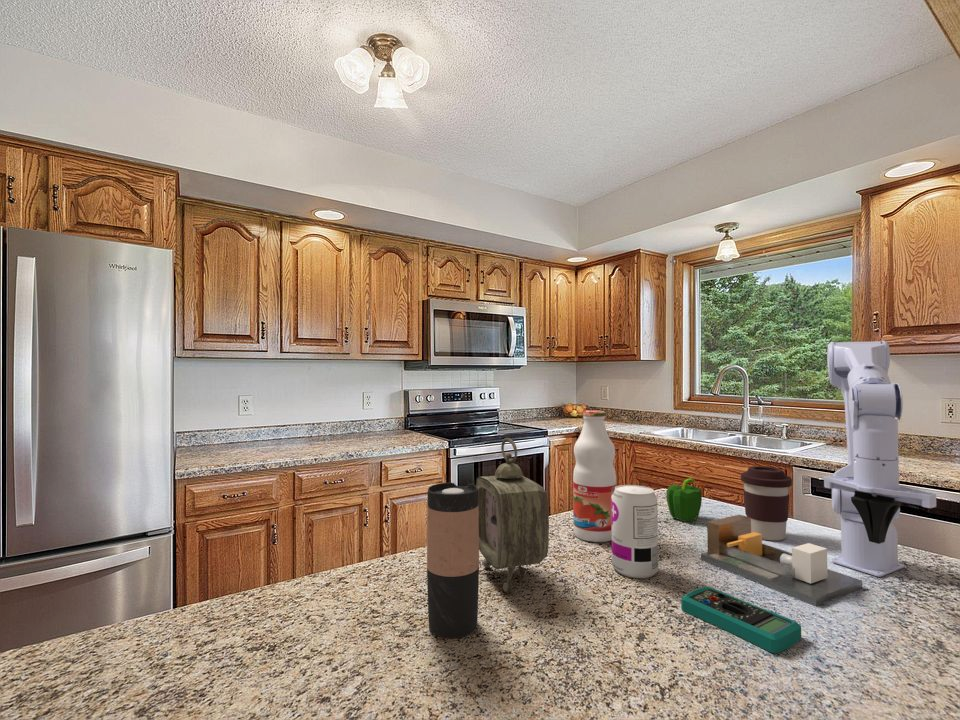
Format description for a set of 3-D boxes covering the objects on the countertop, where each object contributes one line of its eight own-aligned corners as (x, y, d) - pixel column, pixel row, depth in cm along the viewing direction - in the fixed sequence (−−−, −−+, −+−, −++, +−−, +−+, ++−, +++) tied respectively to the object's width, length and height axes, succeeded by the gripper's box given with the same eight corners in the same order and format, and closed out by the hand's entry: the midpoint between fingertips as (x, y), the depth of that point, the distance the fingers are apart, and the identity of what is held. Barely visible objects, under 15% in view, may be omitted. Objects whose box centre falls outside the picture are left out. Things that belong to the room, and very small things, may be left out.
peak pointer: (762, 555, 94) (762, 534, 94) (732, 563, 90) (731, 542, 90) (754, 552, 96) (754, 532, 96) (724, 561, 91) (724, 539, 91)
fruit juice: (625, 537, 108) (624, 411, 109) (597, 546, 103) (597, 413, 103) (592, 526, 116) (591, 408, 116) (564, 534, 110) (564, 410, 111)
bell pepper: (670, 523, 118) (670, 482, 118) (663, 513, 126) (663, 474, 126) (707, 525, 117) (706, 483, 117) (697, 515, 125) (697, 475, 125)
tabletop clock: (475, 565, 93) (474, 434, 93) (518, 559, 96) (518, 432, 96) (501, 599, 79) (501, 445, 80) (552, 591, 82) (551, 442, 83)
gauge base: (862, 587, 83) (861, 545, 83) (816, 606, 77) (815, 560, 77) (746, 547, 102) (745, 513, 102) (700, 560, 95) (700, 523, 96)
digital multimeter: (705, 600, 80) (705, 581, 80) (804, 642, 67) (804, 621, 68) (677, 612, 76) (676, 592, 76) (776, 659, 64) (776, 636, 64)
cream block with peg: (827, 577, 84) (827, 548, 84) (810, 583, 82) (810, 553, 82) (791, 565, 89) (791, 537, 89) (775, 570, 87) (774, 542, 87)
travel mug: (439, 645, 66) (438, 497, 66) (419, 619, 73) (419, 485, 73) (488, 631, 70) (488, 490, 70) (465, 608, 76) (465, 480, 77)
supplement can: (609, 575, 88) (608, 492, 89) (614, 559, 96) (614, 482, 96) (657, 582, 85) (656, 496, 86) (658, 565, 93) (658, 486, 93)
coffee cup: (803, 543, 104) (802, 473, 104) (756, 543, 104) (755, 473, 105) (775, 528, 114) (774, 464, 114) (733, 528, 114) (732, 464, 114)
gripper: (813, 452, 84) (814, 532, 84) (920, 467, 71) (922, 561, 71) (836, 449, 87) (837, 525, 87) (941, 463, 74) (943, 553, 74)
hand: (876, 541), depth 79 cm, fingers closed
